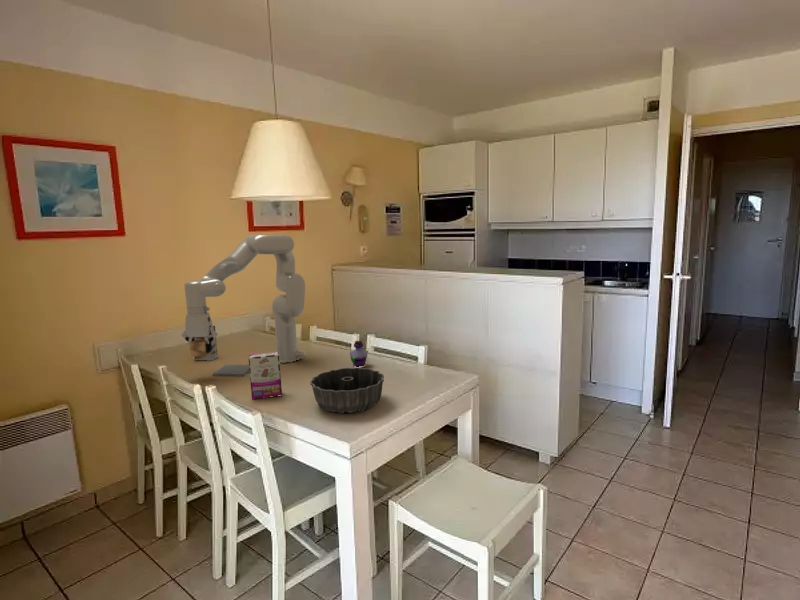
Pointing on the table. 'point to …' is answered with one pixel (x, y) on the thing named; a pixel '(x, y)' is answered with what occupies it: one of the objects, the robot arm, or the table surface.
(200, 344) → the oak cube
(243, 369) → the charcoal mat
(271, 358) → the candy bar box
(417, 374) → the table surface
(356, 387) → the bundt pan
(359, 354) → the potion bottle
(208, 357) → the coffee box
